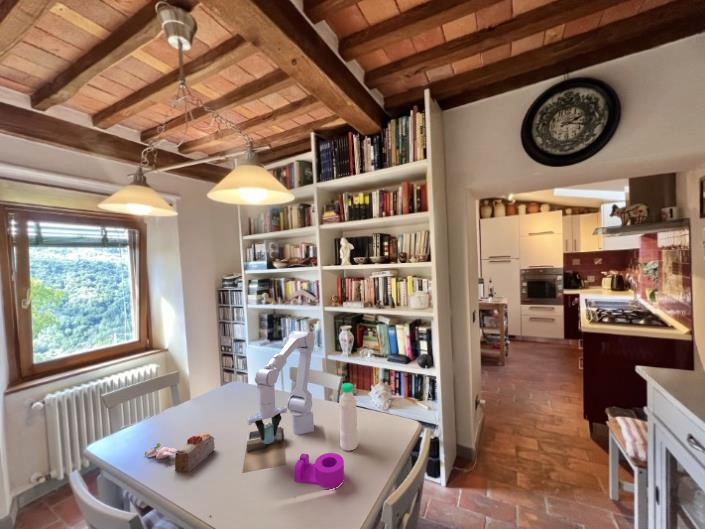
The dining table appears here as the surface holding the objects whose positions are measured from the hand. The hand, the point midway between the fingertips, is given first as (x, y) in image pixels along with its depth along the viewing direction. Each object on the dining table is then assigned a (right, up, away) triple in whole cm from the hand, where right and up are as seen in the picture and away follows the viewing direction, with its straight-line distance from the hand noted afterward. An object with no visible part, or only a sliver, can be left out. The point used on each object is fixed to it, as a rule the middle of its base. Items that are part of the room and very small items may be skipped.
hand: (268, 436), depth 111 cm
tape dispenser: (+21, -9, -9) cm, 25 cm away
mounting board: (-2, -9, +4) cm, 11 cm away
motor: (-4, -8, +9) cm, 13 cm away
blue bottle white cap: (0, -1, 0) cm, 1 cm away
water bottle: (+30, -9, +8) cm, 33 cm away
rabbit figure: (-43, -11, +4) cm, 45 cm away
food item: (-28, -11, +1) cm, 30 cm away
